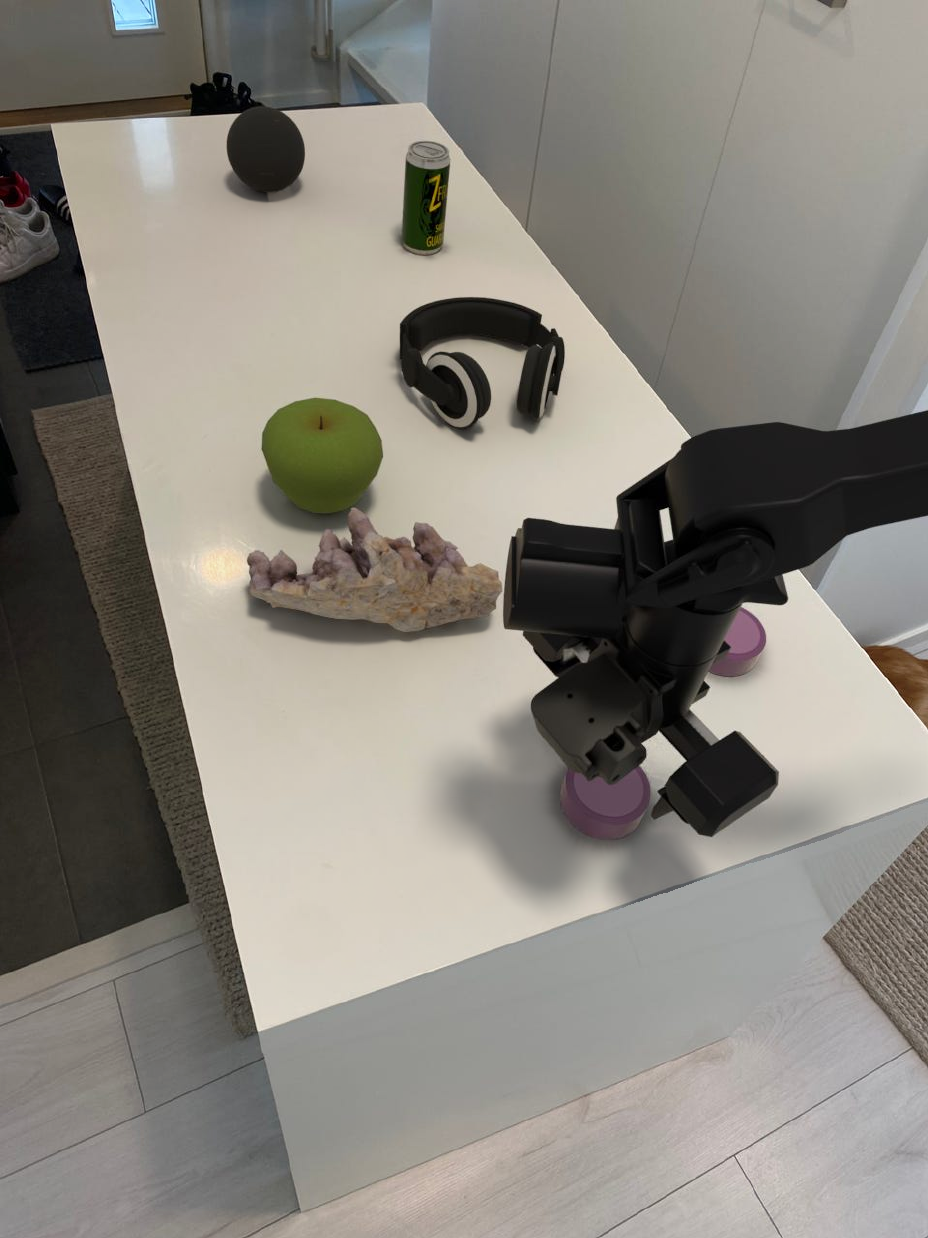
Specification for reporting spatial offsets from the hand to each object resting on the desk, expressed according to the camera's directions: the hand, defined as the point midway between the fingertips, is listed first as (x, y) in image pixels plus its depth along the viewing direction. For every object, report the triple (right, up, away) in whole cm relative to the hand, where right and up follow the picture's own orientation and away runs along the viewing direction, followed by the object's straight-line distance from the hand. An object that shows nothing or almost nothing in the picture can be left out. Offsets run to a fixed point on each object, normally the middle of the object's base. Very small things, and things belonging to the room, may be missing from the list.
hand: (614, 765), depth 67 cm
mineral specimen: (-19, +11, +14) cm, 26 cm away
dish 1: (0, -3, +4) cm, 5 cm away
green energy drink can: (-16, +58, +53) cm, 81 cm away
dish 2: (+12, +8, +15) cm, 21 cm away
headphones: (-9, +36, +36) cm, 52 cm away
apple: (-24, +22, +22) cm, 39 cm away
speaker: (-37, +68, +59) cm, 97 cm away
